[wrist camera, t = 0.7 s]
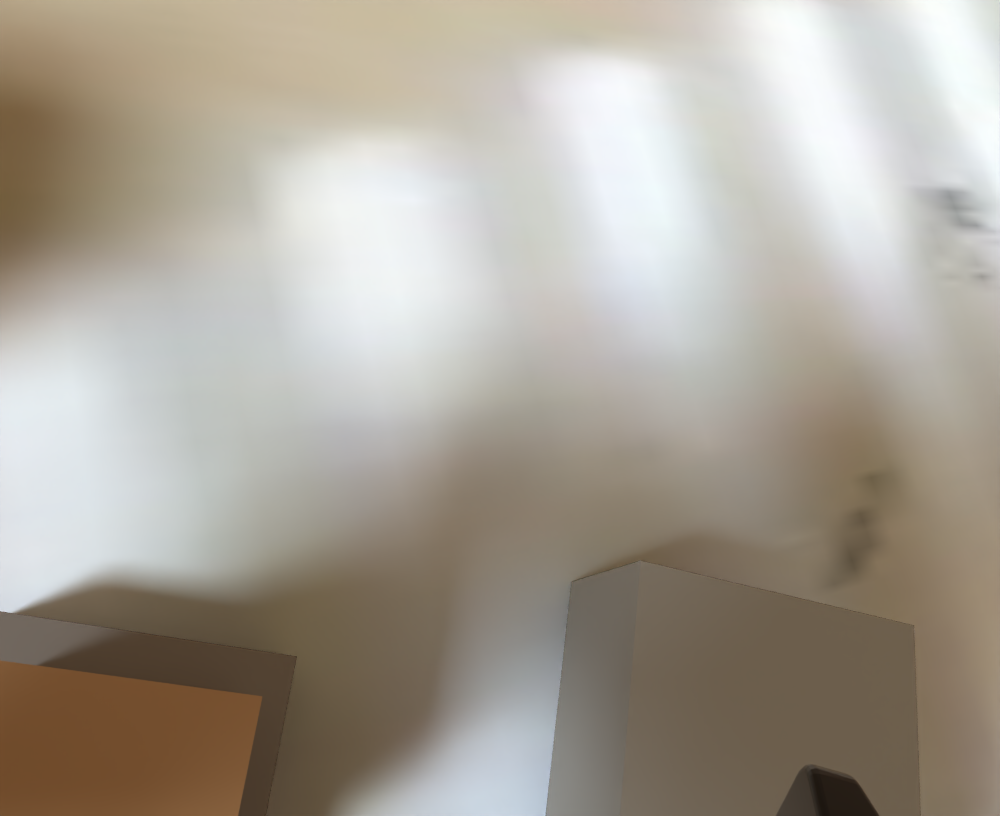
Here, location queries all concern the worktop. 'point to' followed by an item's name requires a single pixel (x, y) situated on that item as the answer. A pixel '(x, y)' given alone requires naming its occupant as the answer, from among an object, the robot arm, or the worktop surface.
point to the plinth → (171, 669)
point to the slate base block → (725, 698)
